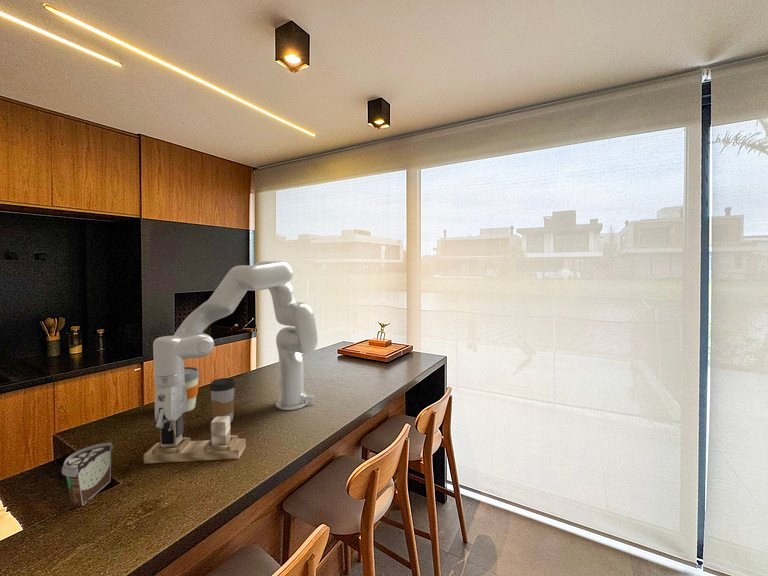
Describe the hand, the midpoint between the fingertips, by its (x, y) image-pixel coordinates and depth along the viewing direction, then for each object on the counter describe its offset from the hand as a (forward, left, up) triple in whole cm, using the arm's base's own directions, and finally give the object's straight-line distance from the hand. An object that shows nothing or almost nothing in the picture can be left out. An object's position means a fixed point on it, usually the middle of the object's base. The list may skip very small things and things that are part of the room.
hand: (172, 438), depth 102 cm
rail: (-7, 0, -5) cm, 9 cm away
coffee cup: (-7, -22, -5) cm, 24 cm away
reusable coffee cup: (+14, -36, -5) cm, 39 cm away
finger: (0, 0, -1) cm, 1 cm away
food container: (+13, +16, -5) cm, 21 cm away
